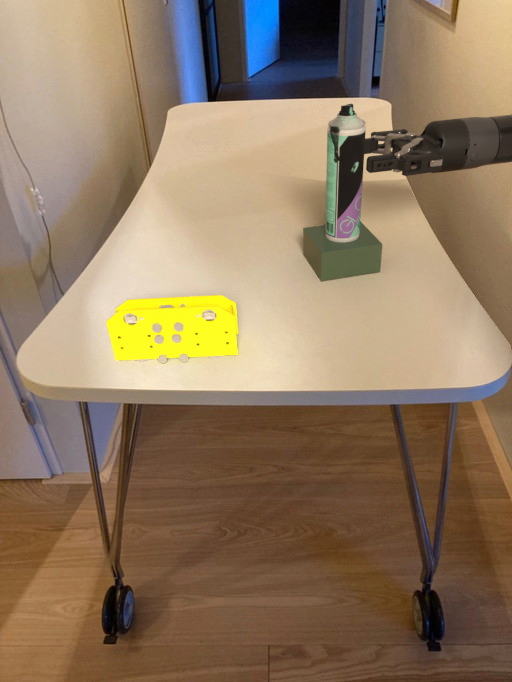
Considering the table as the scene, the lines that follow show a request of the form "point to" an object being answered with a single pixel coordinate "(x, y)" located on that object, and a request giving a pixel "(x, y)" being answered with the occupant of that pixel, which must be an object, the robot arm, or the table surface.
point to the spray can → (344, 175)
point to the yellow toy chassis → (174, 328)
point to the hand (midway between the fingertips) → (357, 156)
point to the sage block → (341, 254)
